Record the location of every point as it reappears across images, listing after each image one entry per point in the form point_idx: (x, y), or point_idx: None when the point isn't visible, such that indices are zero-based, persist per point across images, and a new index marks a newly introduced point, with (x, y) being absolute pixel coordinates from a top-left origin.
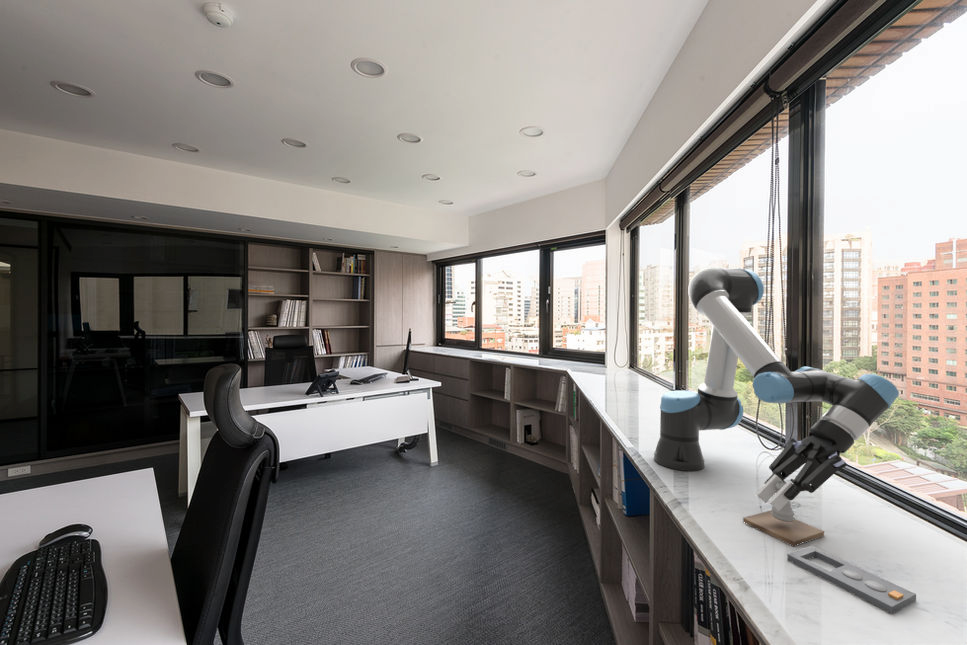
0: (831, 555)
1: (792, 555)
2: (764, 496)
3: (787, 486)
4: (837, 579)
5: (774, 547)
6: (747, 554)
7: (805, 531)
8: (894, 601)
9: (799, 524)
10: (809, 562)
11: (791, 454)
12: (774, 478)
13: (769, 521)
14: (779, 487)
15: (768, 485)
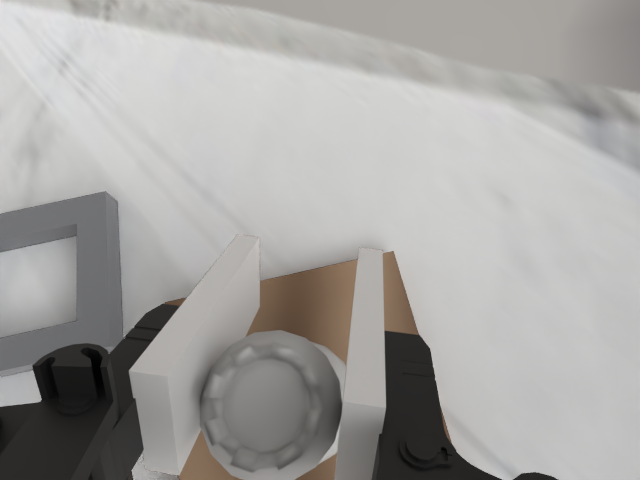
0: (26, 357)
1: (92, 200)
2: (353, 298)
3: (162, 335)
4: None
5: (192, 225)
6: (187, 105)
7: (216, 461)
8: None
9: None
10: (38, 221)
11: None
12: (348, 369)
13: (342, 355)
14: (260, 339)
15: (352, 311)
